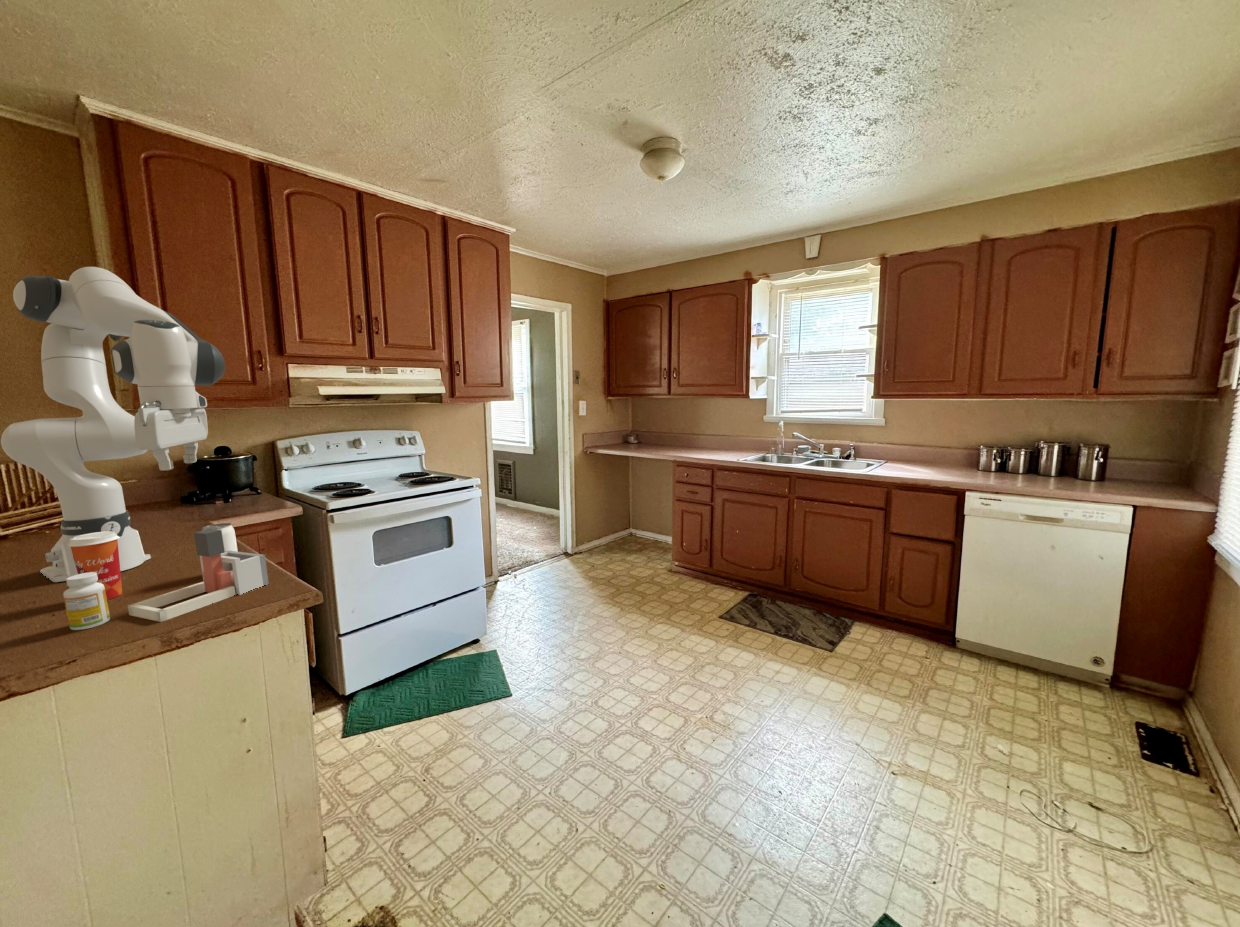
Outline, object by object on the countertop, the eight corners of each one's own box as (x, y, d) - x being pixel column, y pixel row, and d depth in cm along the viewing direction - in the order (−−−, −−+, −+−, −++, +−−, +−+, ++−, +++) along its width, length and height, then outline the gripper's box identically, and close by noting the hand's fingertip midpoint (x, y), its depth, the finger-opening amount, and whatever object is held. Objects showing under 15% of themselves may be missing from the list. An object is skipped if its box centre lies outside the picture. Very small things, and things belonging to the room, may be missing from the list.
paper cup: (71, 607, 105) (58, 542, 103) (88, 595, 111) (77, 533, 109) (121, 599, 108) (110, 536, 106) (135, 587, 115) (125, 528, 113)
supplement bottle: (89, 619, 98) (80, 571, 97) (118, 617, 99) (110, 569, 98) (61, 631, 93) (51, 581, 92) (92, 629, 94) (83, 579, 92)
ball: (235, 565, 115) (240, 581, 116) (216, 574, 111) (221, 590, 112) (246, 567, 113) (251, 583, 114) (228, 575, 110) (233, 592, 111)
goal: (204, 588, 113) (199, 554, 112) (234, 579, 118) (229, 546, 117) (240, 594, 108) (235, 559, 107) (268, 584, 114) (264, 550, 113)
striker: (200, 592, 109) (190, 532, 107) (215, 587, 112) (206, 528, 110) (218, 596, 107) (208, 534, 105) (233, 590, 110) (224, 530, 108)
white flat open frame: (129, 615, 100) (127, 605, 99) (204, 590, 112) (203, 581, 112) (161, 621, 96) (159, 612, 96) (235, 595, 108) (234, 586, 108)
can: (221, 578, 119) (214, 529, 117) (199, 577, 120) (192, 529, 119) (247, 569, 125) (240, 522, 124) (225, 568, 127) (219, 522, 125)
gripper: (159, 402, 95) (170, 473, 98) (210, 398, 115) (218, 458, 117) (117, 402, 93) (130, 475, 96) (176, 399, 113) (186, 460, 115)
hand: (179, 466), depth 106 cm, fingers open, 8 cm apart
